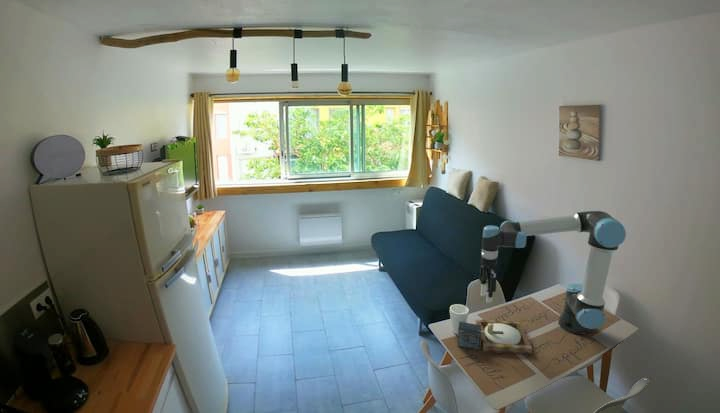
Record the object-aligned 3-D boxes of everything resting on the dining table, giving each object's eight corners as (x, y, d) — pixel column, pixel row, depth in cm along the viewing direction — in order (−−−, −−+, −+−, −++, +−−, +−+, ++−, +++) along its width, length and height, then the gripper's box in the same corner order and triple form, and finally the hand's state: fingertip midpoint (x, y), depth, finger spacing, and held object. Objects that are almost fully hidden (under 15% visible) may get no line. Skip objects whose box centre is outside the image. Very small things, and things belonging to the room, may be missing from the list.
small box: (480, 342, 185) (481, 324, 182) (479, 350, 179) (481, 332, 176) (458, 338, 188) (459, 320, 185) (457, 346, 182) (458, 328, 180)
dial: (515, 327, 194) (516, 316, 192) (524, 348, 177) (526, 336, 176) (481, 325, 196) (482, 314, 194) (487, 346, 180) (488, 334, 178)
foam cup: (467, 337, 189) (469, 315, 186) (449, 335, 191) (450, 313, 187) (466, 326, 198) (467, 304, 195) (448, 324, 200) (449, 303, 196)
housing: (518, 327, 196) (519, 320, 195) (531, 354, 175) (532, 347, 174) (475, 325, 199) (476, 318, 198) (483, 352, 178) (483, 345, 177)
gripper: (473, 250, 191) (471, 290, 197) (490, 265, 173) (487, 309, 180) (487, 248, 192) (484, 289, 198) (506, 264, 174) (502, 307, 180)
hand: (486, 298), depth 189 cm, fingers open, 6 cm apart
